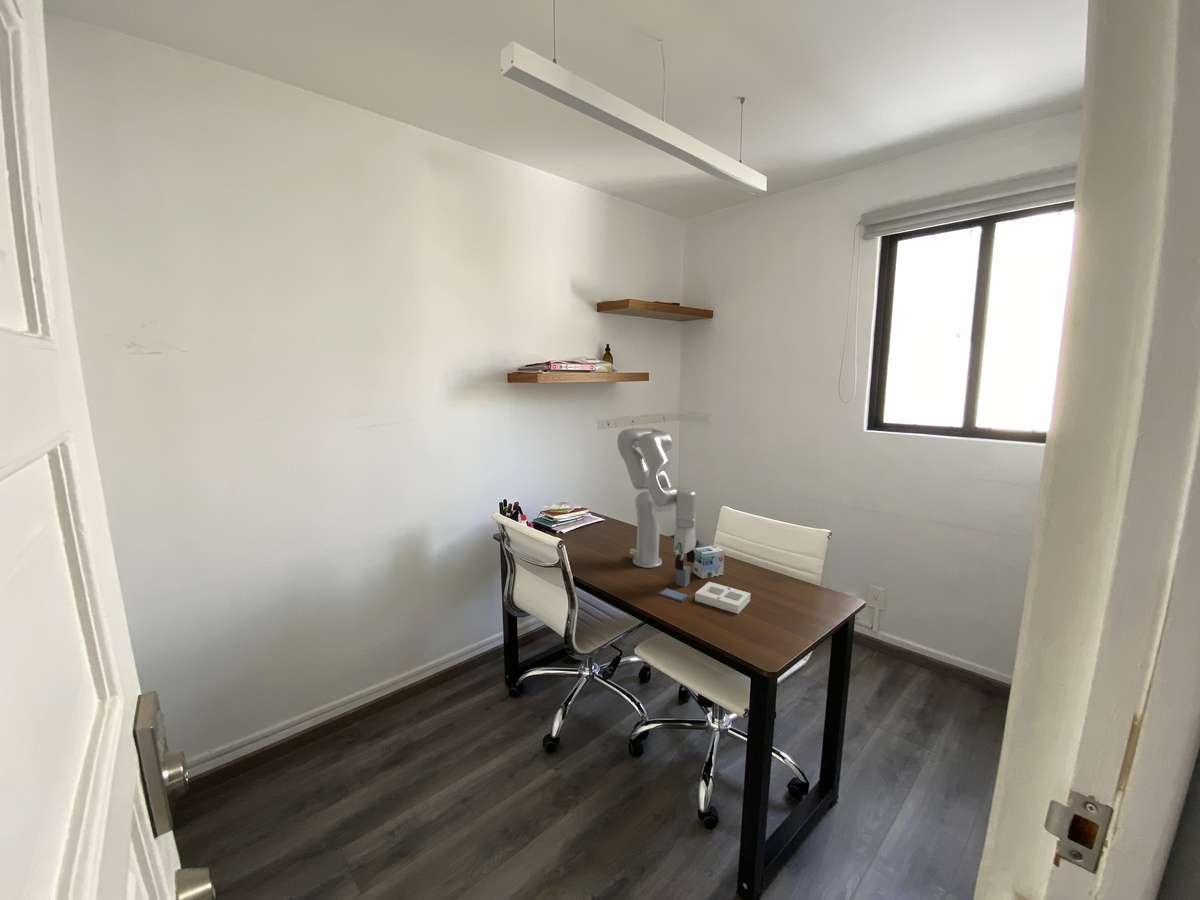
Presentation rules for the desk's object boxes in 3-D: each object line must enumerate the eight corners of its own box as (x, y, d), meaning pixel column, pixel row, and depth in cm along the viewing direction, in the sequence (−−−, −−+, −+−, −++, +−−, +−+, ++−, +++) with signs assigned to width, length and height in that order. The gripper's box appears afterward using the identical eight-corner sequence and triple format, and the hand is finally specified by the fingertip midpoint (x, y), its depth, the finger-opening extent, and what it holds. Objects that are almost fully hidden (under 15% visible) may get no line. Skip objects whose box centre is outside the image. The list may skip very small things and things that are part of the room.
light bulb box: (701, 579, 191) (703, 553, 190) (692, 572, 197) (693, 547, 196) (723, 575, 195) (725, 550, 194) (714, 569, 201) (715, 544, 200)
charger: (675, 584, 186) (676, 567, 185) (680, 580, 190) (681, 563, 188) (684, 587, 184) (685, 569, 183) (689, 583, 187) (690, 566, 186)
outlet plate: (694, 600, 173) (695, 592, 172) (708, 588, 183) (709, 581, 182) (737, 613, 164) (738, 605, 163) (750, 601, 173) (750, 592, 173)
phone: (658, 595, 178) (658, 593, 178) (666, 590, 182) (666, 587, 182) (681, 603, 172) (682, 600, 171) (689, 597, 176) (689, 595, 176)
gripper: (686, 516, 192) (686, 557, 194) (666, 526, 178) (665, 570, 180) (704, 519, 187) (703, 561, 189) (684, 529, 174) (683, 574, 176)
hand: (685, 565), depth 185 cm, fingers open, 9 cm apart
